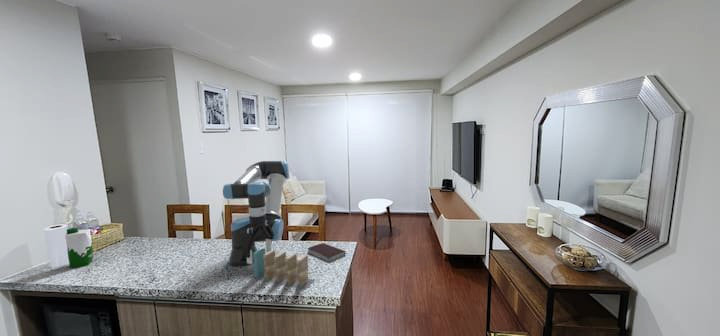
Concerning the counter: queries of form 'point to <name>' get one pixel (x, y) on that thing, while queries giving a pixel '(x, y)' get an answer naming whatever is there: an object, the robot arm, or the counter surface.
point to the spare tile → (259, 262)
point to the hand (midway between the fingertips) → (259, 257)
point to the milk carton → (79, 247)
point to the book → (326, 252)
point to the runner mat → (283, 282)
